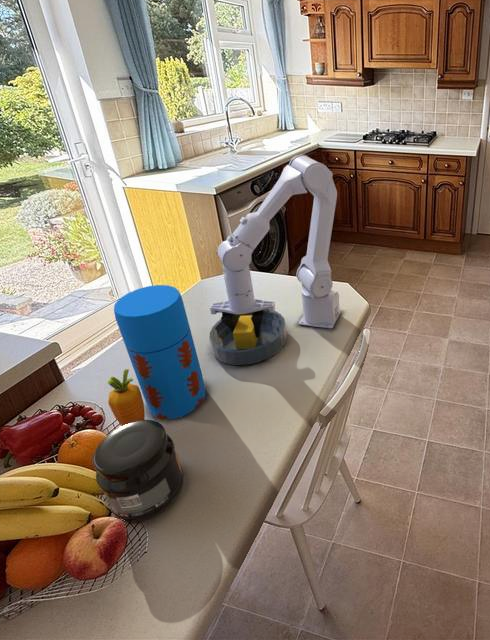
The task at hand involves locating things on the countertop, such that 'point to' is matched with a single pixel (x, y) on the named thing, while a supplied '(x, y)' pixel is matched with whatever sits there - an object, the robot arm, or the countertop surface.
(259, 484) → the countertop surface
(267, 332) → the bowl
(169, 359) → the thermos
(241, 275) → the robot arm
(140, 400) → the carrot
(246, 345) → the sponge
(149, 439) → the supplement container
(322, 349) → the countertop surface
